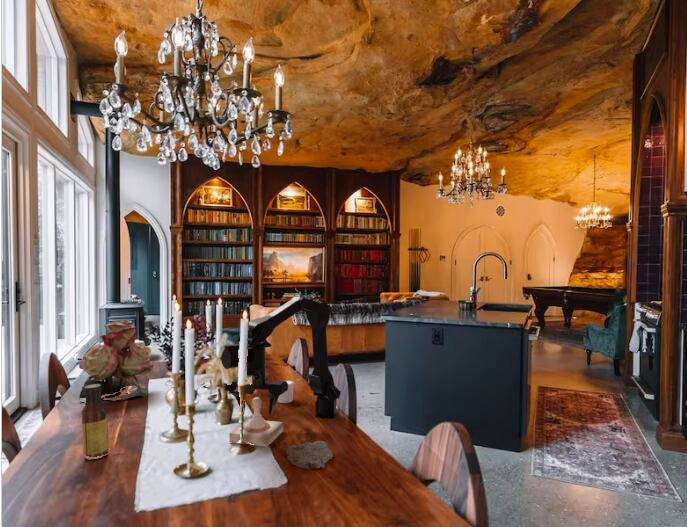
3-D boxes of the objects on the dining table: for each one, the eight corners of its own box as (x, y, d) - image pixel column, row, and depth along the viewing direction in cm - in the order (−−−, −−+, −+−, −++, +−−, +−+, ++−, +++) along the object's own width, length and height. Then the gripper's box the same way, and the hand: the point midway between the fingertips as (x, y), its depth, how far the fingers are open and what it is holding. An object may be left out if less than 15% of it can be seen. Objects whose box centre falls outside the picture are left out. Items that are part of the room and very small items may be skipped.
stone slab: (290, 475, 117) (290, 464, 117) (284, 448, 133) (284, 437, 133) (337, 470, 119) (337, 459, 119) (326, 444, 136) (326, 434, 136)
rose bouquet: (73, 407, 170) (72, 327, 169) (95, 386, 198) (94, 317, 197) (148, 401, 176) (146, 323, 175) (159, 381, 204) (158, 314, 204)
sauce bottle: (114, 453, 130) (112, 383, 129) (95, 463, 124) (93, 389, 123) (96, 450, 132) (94, 381, 131) (77, 459, 126) (75, 387, 126)
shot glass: (292, 403, 172) (292, 385, 172) (274, 403, 172) (274, 385, 172) (295, 397, 179) (295, 380, 179) (277, 397, 179) (277, 380, 179)
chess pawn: (246, 426, 141) (245, 397, 141) (260, 422, 144) (260, 393, 144) (253, 431, 137) (252, 401, 137) (268, 427, 140) (267, 397, 140)
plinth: (282, 431, 145) (282, 421, 145) (266, 447, 133) (266, 436, 133) (248, 428, 148) (247, 418, 148) (229, 443, 136) (229, 432, 136)
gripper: (214, 367, 134) (215, 420, 135) (273, 371, 130) (274, 426, 130) (233, 359, 145) (234, 408, 146) (288, 362, 140) (289, 412, 141)
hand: (256, 413), depth 140 cm, fingers open, 9 cm apart
